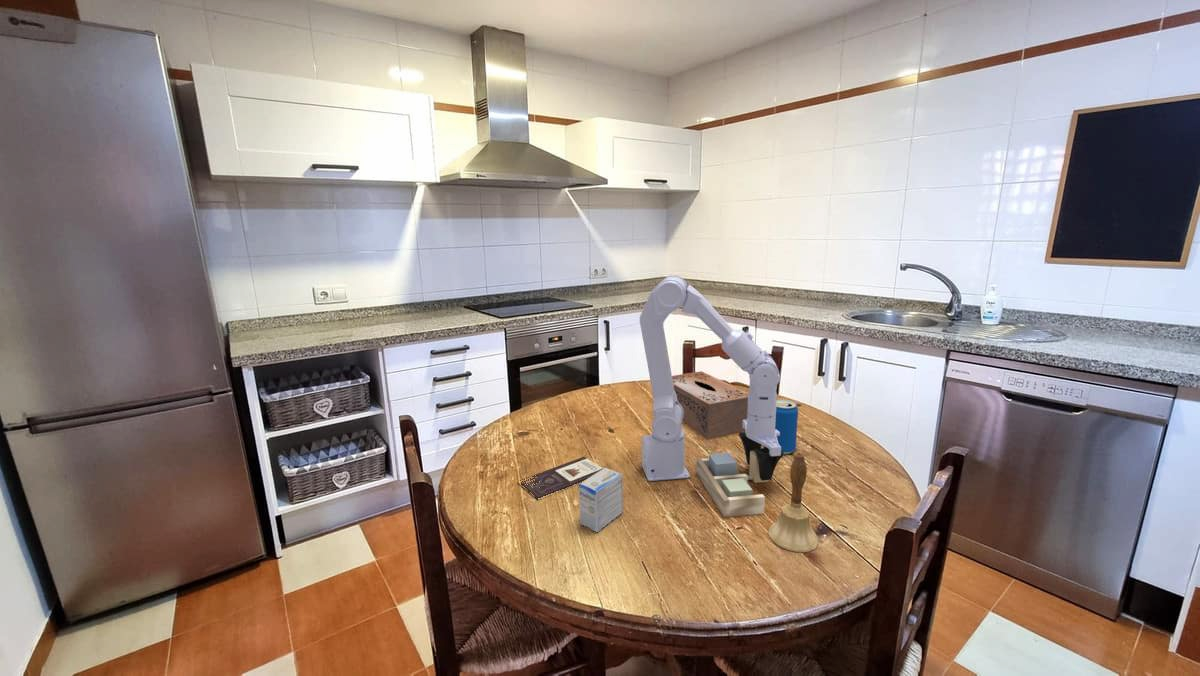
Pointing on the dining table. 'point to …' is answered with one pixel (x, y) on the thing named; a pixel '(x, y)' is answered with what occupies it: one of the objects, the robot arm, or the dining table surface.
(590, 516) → the medicine box
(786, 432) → the beverage can
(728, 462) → the corded block
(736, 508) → the rack
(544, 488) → the chocolate bar
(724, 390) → the tissue box cover
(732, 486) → the plain block
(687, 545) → the dining table surface
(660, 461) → the robot arm
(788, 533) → the hand bell
